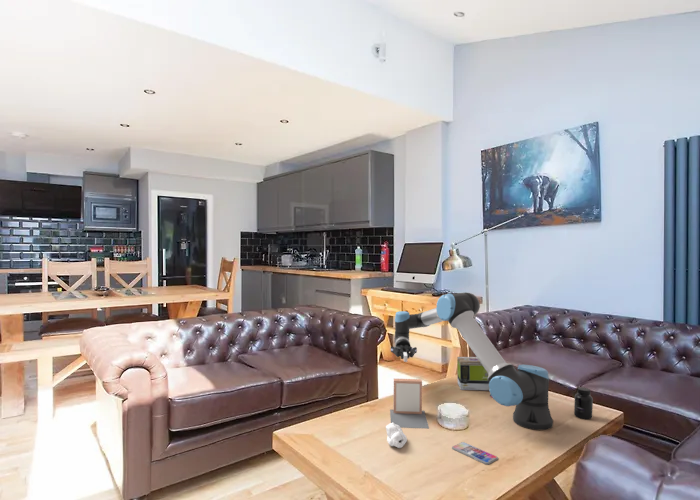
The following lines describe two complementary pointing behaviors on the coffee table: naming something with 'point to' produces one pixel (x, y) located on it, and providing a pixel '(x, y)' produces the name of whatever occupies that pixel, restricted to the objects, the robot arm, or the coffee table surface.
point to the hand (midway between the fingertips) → (405, 358)
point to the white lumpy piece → (395, 435)
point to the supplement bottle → (583, 404)
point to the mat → (409, 420)
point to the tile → (408, 396)
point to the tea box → (471, 374)
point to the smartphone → (475, 453)
